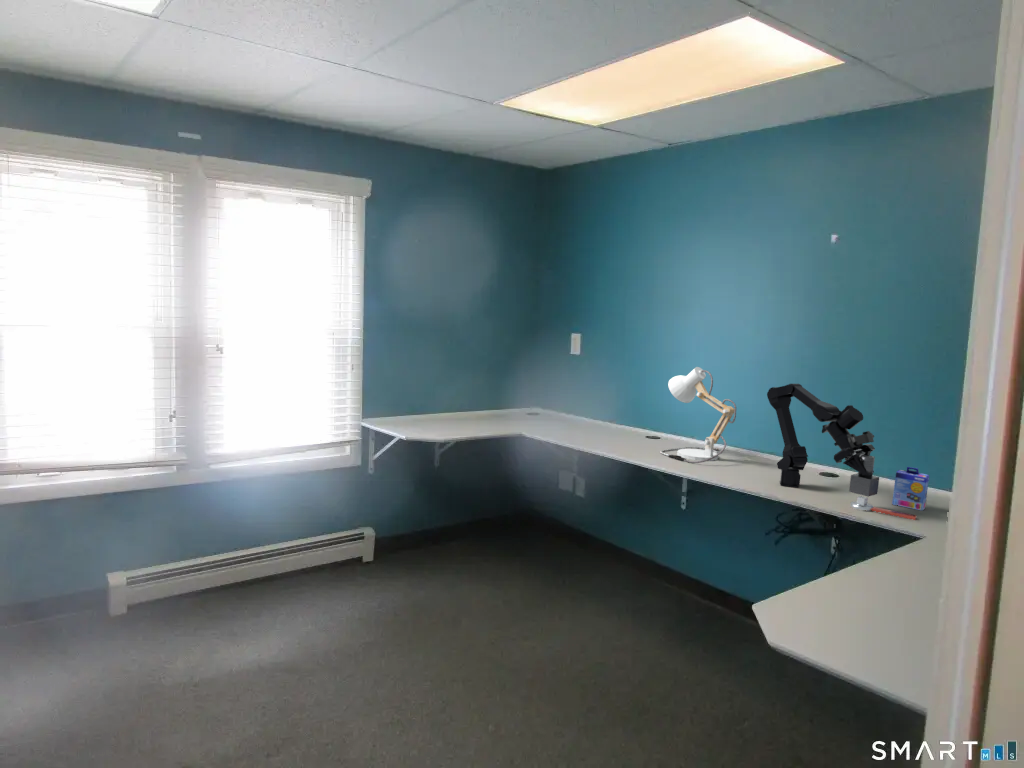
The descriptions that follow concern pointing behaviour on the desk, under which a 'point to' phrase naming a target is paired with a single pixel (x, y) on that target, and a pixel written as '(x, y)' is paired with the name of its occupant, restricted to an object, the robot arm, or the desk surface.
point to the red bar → (863, 505)
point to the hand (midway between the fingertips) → (869, 473)
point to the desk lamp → (686, 392)
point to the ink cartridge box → (910, 489)
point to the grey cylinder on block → (865, 478)
